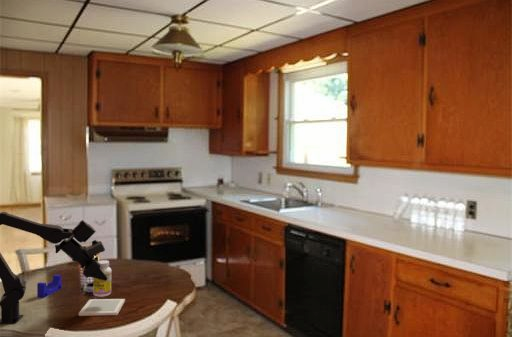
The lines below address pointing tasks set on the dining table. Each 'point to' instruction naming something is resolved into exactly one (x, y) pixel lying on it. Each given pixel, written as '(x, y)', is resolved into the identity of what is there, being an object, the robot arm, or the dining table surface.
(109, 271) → the supplement bottle
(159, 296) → the dining table surface
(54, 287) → the cable clip
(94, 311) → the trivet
